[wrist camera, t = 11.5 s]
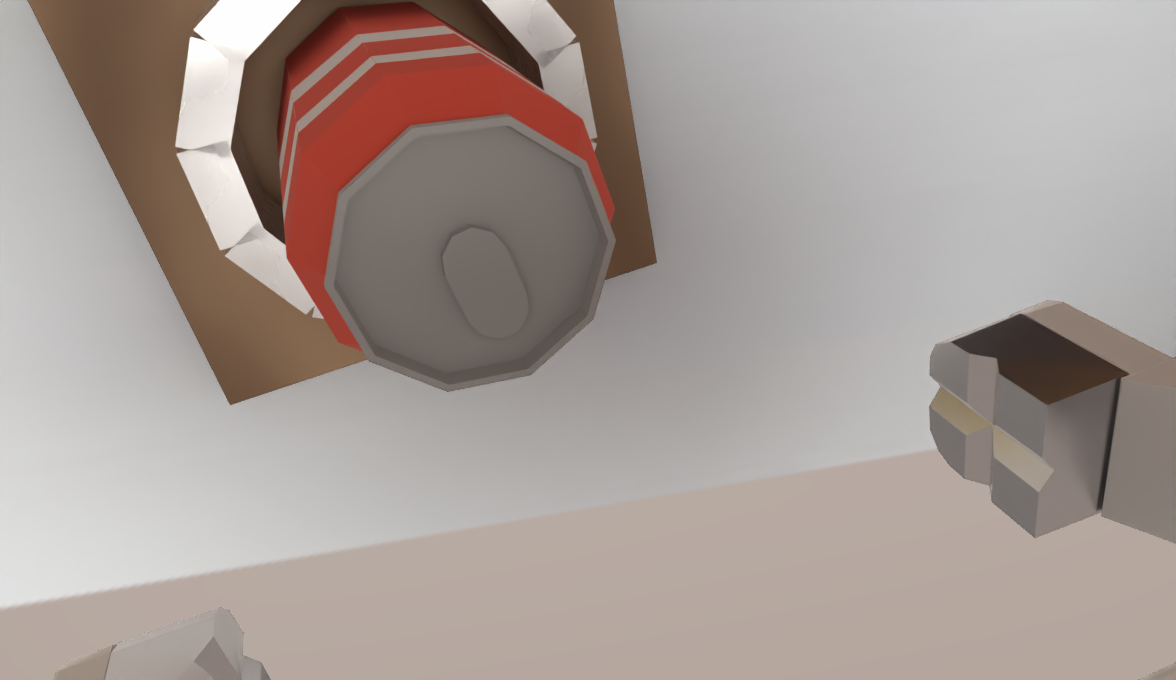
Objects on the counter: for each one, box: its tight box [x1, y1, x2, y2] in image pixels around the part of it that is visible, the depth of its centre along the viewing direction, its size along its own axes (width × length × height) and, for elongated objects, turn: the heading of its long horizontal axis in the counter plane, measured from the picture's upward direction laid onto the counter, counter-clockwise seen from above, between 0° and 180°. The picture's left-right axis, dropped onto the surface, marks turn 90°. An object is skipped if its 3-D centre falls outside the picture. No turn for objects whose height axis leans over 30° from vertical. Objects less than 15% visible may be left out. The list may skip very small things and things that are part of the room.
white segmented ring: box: [175, 0, 597, 319], centre depth 24 cm, size 10×10×4 cm
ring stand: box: [28, 0, 657, 405], centre depth 26 cm, size 15×15×1 cm
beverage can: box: [277, 2, 616, 392], centre depth 20 cm, size 6×6×12 cm
